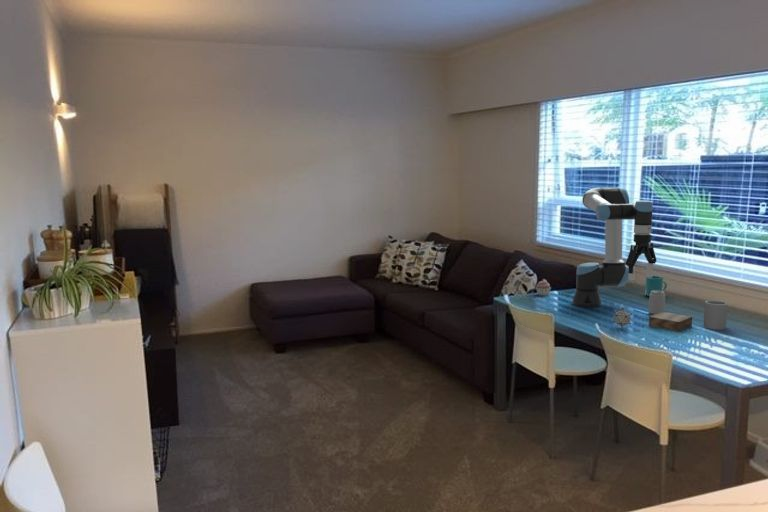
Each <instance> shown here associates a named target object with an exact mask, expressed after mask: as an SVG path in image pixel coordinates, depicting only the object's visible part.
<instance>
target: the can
mask: <svg viewBox="0 0 768 512" xmlns="http://www.w3.org/2000/svg"><path fill="white" fill-rule="evenodd" d="M648 298H649V299H648V300H649V301H648V313H649V314H650V315H655V314H658V313H660V312H666V311H665V310H666V294H665V290H663V291H658V290H653V291H651V293H650V295H649V297H648Z"/></svg>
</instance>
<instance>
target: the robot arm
mask: <svg viewBox="0 0 768 512" xmlns="http://www.w3.org/2000/svg"><path fill="white" fill-rule="evenodd" d="M581 201H582V204H583V206H584V207H585V208H586V209H587V210H592V211H594V212H595V217H596V219H597V220H602V221H604V223H605V226H604V227H605V232H604V233H605V234H604V235H605V236H604V237H605V241H604V242H605V243H604V244H605V248H604V251H605V252H604V253H605V254H604V255H605V256H604V259H603V260H602V263H601V264H600V263H599V262H583V263H580V264H578V265H577V267H576V273H575V274H576V277H575V279H576V281H575V282H576V283H575V285H576V286H575V288H576V289H575V293H574V296H573V297H572V298H573V299H572V305H573V306H574V307H579V308H585V309H586V308H587V309H588V308H590V309H591V308H592V309H593V308H599V307H601V306H602V300H601V297H600V293H599V288H600V287H603V288H604V287H609V288H610V287H615V288H617V287H623V286H624V287H625V285H626V284H627V282H628V281H635V278H636V266H635V265H636V263H637V261H638V259H639V257H640V256H641V255H644V256H645V259H646V261H647V263H646V272H645V273H646V276H645V278H646V277H652V276H654V275H653V273H654V272H653V271H654V264H656V263H657V256H656V254H655V249H654V243H653V242H652V229H653V227H652V225H653V210H654V206H653V201H651V200H637V201H635V203H630V197H629V192H628V190H627V189H626V188H624V187H621V186H619V187H617V186H616V187H612V186H611V187H610V186H609V187H594V188H591V189H589V190H587V191H586V192H585V193H584V194H583V196H582V200H581ZM624 220H628V221H629V220H634V223H633V233H634V234H633V242H634V243H635V244H631V245H630V249H629V252H628V254H627V255H628V256H627V259H626V261H624V260H623V221H624Z"/></svg>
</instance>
